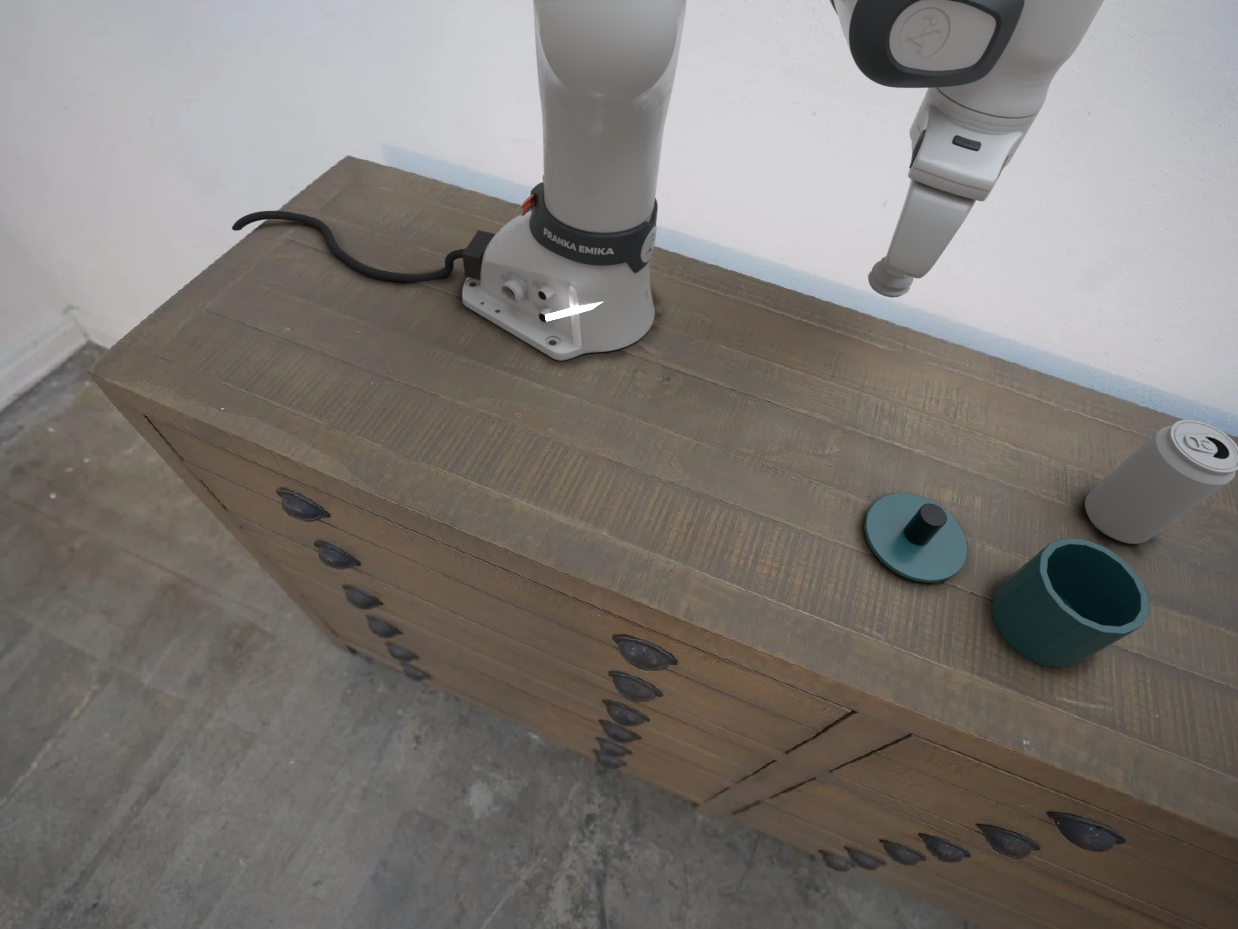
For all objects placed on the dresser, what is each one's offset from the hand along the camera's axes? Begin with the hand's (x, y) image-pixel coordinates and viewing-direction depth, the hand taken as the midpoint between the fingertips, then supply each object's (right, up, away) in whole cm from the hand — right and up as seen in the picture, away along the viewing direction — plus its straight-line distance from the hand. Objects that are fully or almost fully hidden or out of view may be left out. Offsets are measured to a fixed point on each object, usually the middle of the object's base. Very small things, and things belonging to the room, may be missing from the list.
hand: (899, 261), depth 69 cm
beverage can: (+20, -26, -2) cm, 33 cm away
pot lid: (-1, -27, -6) cm, 28 cm away
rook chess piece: (0, -2, +3) cm, 3 cm away
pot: (+8, -34, -10) cm, 37 cm away
